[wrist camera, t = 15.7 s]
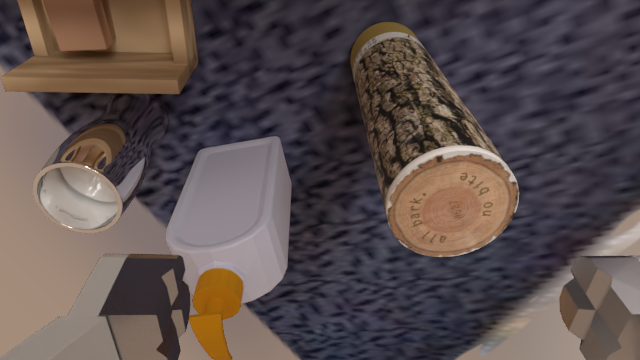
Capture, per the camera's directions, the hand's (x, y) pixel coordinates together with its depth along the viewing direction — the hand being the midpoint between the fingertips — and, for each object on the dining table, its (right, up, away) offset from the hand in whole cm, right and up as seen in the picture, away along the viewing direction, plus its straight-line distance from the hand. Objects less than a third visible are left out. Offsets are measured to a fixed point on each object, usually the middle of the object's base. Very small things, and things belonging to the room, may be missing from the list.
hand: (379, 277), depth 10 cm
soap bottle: (-9, +3, +42) cm, 43 cm away
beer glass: (-20, +9, +38) cm, 44 cm away
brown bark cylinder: (+5, +14, +35) cm, 38 cm away
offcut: (-22, +18, +29) cm, 40 cm away
